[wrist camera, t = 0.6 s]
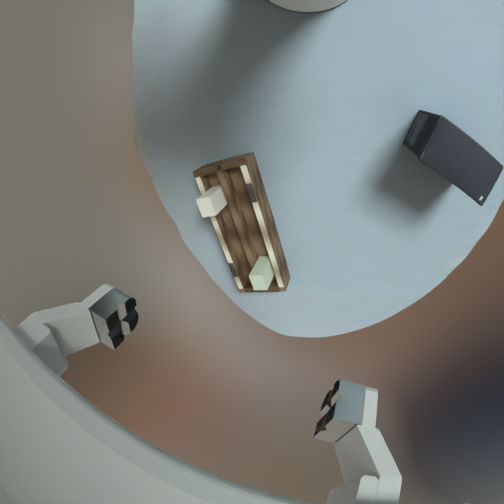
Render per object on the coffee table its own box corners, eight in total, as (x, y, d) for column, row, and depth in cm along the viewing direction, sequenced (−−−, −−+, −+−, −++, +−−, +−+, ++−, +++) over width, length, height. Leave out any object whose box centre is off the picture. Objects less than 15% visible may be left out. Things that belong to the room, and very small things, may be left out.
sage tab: (259, 256, 48) (248, 275, 44) (272, 255, 47) (262, 275, 43) (263, 270, 50) (254, 290, 45) (276, 269, 49) (267, 289, 44)
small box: (474, 146, 27) (506, 166, 19) (455, 181, 31) (482, 209, 23) (419, 106, 28) (443, 113, 20) (401, 144, 32) (418, 162, 24)
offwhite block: (212, 186, 44) (195, 199, 39) (224, 183, 43) (209, 196, 38) (218, 203, 45) (202, 217, 41) (230, 200, 44) (216, 215, 40)
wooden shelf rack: (204, 165, 44) (192, 172, 41) (253, 152, 41) (243, 158, 37) (247, 279, 55) (240, 293, 52) (290, 277, 52) (285, 291, 48)
